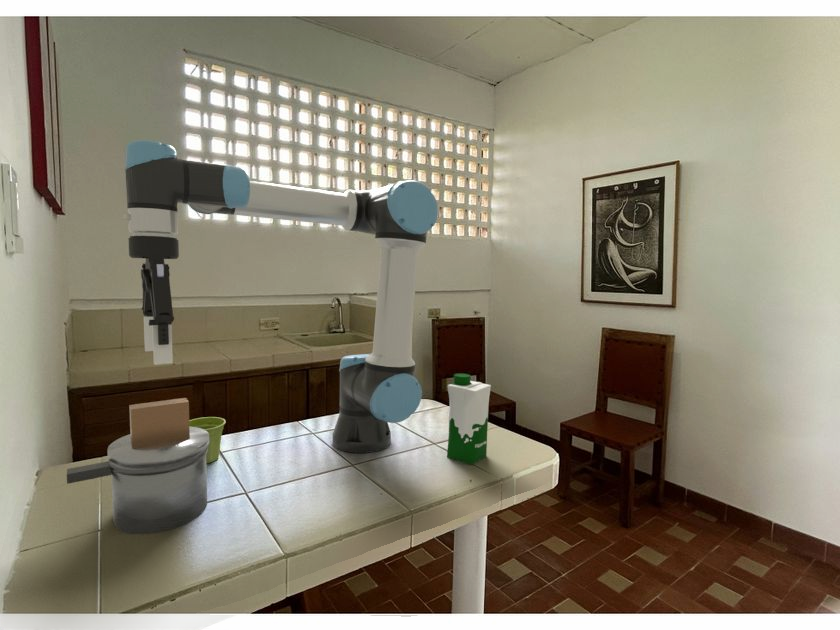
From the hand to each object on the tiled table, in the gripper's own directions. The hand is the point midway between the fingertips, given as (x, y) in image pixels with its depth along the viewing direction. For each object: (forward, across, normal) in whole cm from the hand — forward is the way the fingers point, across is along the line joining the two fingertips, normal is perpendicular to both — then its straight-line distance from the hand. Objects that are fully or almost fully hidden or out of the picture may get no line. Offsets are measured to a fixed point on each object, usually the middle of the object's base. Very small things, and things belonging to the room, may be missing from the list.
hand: (158, 356), depth 82 cm
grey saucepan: (+29, 0, -3) cm, 29 cm away
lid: (+17, 0, 0) cm, 17 cm away
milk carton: (+29, +12, +64) cm, 71 cm away
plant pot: (+29, -20, +11) cm, 37 cm away
